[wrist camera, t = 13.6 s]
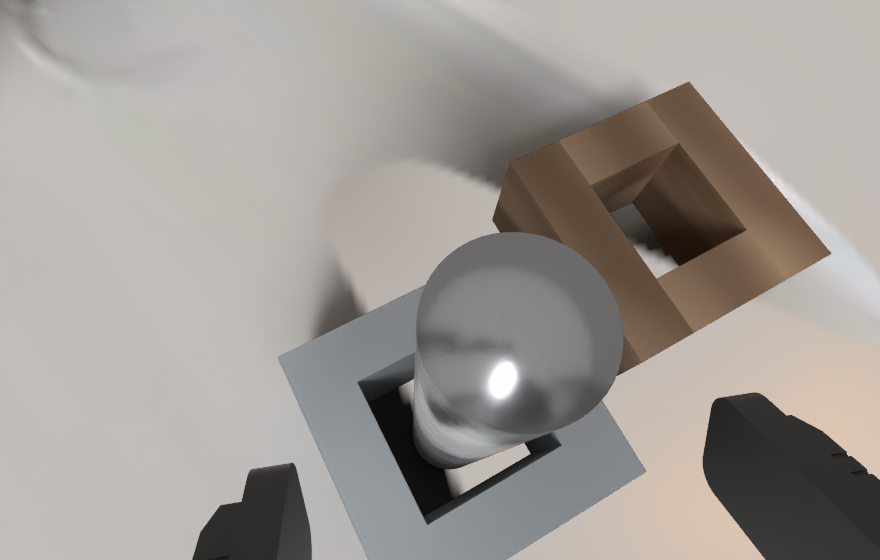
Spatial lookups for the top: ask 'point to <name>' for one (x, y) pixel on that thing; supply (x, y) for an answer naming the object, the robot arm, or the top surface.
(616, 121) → the wooden square frame
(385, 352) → the socket block
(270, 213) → the top surface
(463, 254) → the steel axle
